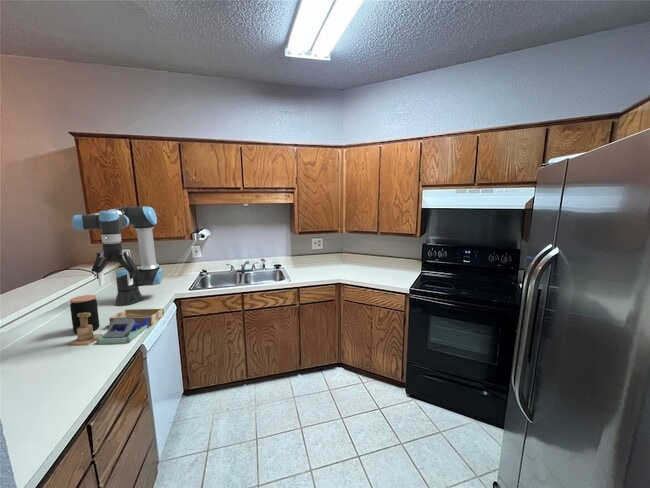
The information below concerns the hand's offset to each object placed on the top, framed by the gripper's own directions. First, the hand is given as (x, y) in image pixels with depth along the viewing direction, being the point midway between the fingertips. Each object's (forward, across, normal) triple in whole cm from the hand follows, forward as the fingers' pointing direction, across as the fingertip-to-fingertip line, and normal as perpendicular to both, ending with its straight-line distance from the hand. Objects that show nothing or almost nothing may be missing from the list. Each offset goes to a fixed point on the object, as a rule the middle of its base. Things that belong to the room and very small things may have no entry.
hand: (116, 285), depth 136 cm
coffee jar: (+27, -23, +8) cm, 37 cm away
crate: (+27, -1, +16) cm, 31 cm away
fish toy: (+26, +3, +4) cm, 27 cm away
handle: (+27, -14, -4) cm, 31 cm away
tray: (+27, +1, 0) cm, 27 cm away
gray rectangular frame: (+23, +1, -2) cm, 23 cm away
